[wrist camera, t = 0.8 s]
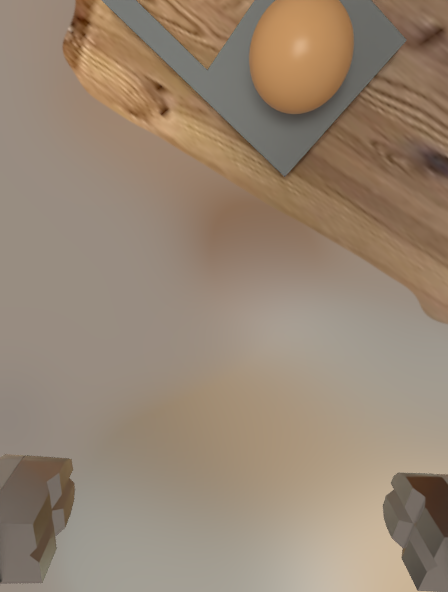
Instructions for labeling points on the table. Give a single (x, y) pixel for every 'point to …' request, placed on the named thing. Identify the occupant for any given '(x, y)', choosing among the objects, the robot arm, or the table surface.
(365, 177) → the table surface
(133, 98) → the table surface
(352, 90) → the deck
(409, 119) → the table surface
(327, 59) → the ball
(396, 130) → the table surface
